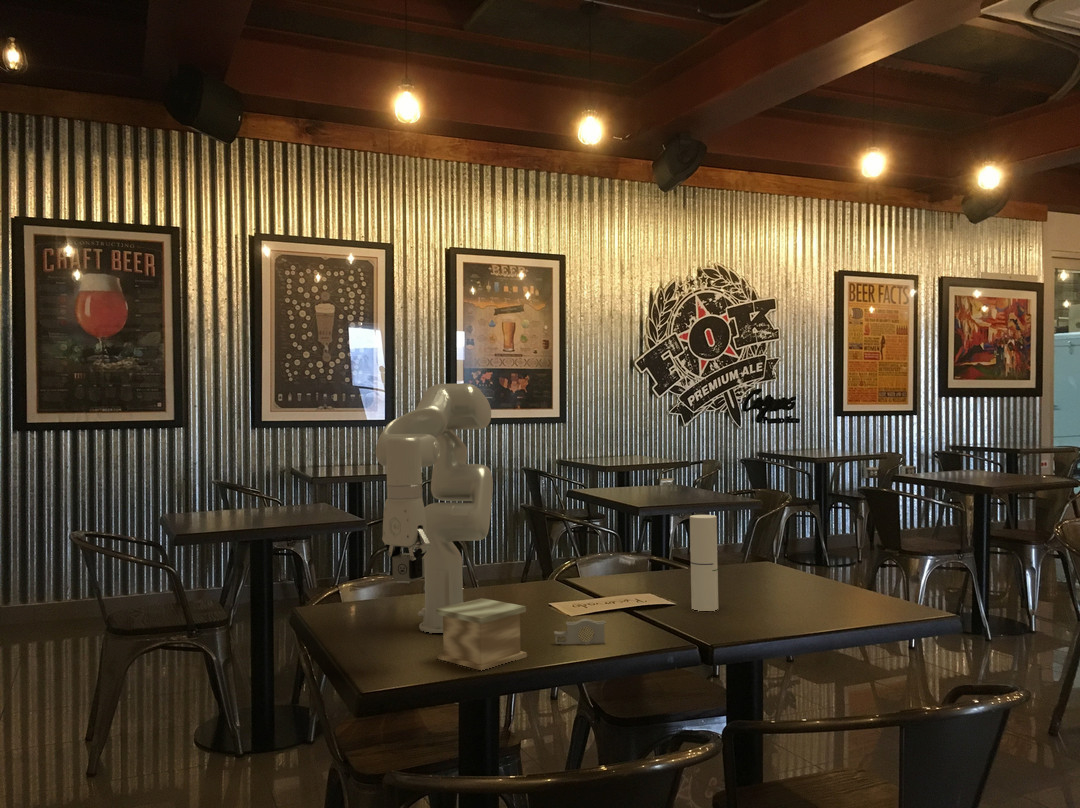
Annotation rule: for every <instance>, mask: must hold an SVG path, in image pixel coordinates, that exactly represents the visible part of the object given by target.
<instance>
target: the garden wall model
mask: <svg viewBox="0 0 1080 808" xmlns="http://www.w3.org/2000/svg"><path fill="white" fill-rule="evenodd" d="M606 623H607V622H606V620H600V621H597V620H596V621H595V620H593V619H590V618H587V617H585V618H581V619H580V620H577V621H565V625H566V626H567V627H566V630H564V631H556V630H554V631H553V634H554V635H555V637H554V638H555V640H554V641H555V643H554V644H555V645H556V644H561V645H584V644H585V645H594V644H597V645H598V644H605V640H606V639H605V625H606Z"/></svg>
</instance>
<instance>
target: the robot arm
mask: <svg viewBox="0 0 1080 808" xmlns="http://www.w3.org/2000/svg"><path fill="white" fill-rule="evenodd" d="M491 419H492V408H491V405H490V402H489V400H488V399H487V397H486V396H485V395H484V393H483V392H482V390H480V389H479V387H477V386H476V385H474V384H472V383H466V382H465V383H461V382H460V383H436V384H434V385H431V386H429V387H428V388H427V389H426V390H425V392H424V394H423V395H422V397H421V399H420V400H419V402H418V405H417V406H416V408H415V409H414V410H412V411H409V412H407V413H405V414H403V415H401V416H399V417H397V418H395V419H393V420H391V421H390V422H388V423H387V424H386V426H384V428H383V430H382V432H381V433H380V436H379V437H378V440H377V443H376V445H375V457H376V460H377V462H378V463H379V464H380V466H382V467H386V491H387V494H386V496H387V499H385V502H384V508H383V516H382V517H383V518H382V537H381V540H382V542H383V543H384V545H385V548H386V550H387V551H388V553H387V555H388V557H389V567H390V568H389V569H390V571H389V572H390V573H389V574H390V575H391V576H393V567H392V557H394V556H397V555H400V554H403V553H402V552H403V548H407V549H408V552H409V553H410V557H411V560H409V578H410V579H415V578H420V577H422V575H423V574H422V559H423V558H424V573H425V577H424V607H422V609H421V610H418V611H417V615H418V616H419V617H422V618H423V619H422V620H423V621H422V622H421V623H419V626H418V627H419V628H418V629H419V630H420V631H421V632H423V631H424V632H423V633H426V632H429V633H428V634H432V633H443V616H441V615H437V614H436V609H439V608H443V607H447V606H451V605H455V604H460V603H464V590H463V589H464V587H463V585H464V584H463V582H464V581H463V580H464V579H463V578H464V577H463V576H464V574H463V557H462V554H461V552H460V550H459V549H458V548H457V546H456V545H455V544H454V542H457V541H459V542H460V541H463V542H464V541H466V542H468V541H469V542H470V541H471V542H472V541H473V542H474V541H477V542H478V541H482V540H484V539H485V538H486V537H487V536H488V533H489V531H490V530H489V529H490V522H491V513H492V502H493V501H492V500H493V492H494V489H493V487H494V482H493V481H494V480H493V474H492V472H491V469H490V468H489V467H488V466H487V465H484V464H480V463H479V464H478V463H467V461H468V448H467V446H466V444H465V443H464V441H463V440H462V439H461V438H460V437H459V436H458V435H457V434H456V432H454V431H455V430H456V431H458V430H462V431H463V430H482V429H483V430H484V429H486V428H487V427H488V426H489V424H490V423H491V421H492V420H491ZM428 467H432V474H431V481H430V482H431V483H430V491H431V494H432V497H433V498H435V499H436V500H438V501H443V502H433V503H430V504H427V505H426V506H425V504H424V499H423V475H422V474H423V473H422V471H423V470H422V468H428ZM415 549H416V550H415Z"/></svg>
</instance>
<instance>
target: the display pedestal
mask: <svg viewBox="0 0 1080 808" xmlns="http://www.w3.org/2000/svg"><path fill="white" fill-rule="evenodd" d="M526 612H527V606H526V605H520V604H515V603H510V602H505V601H499V600H494V599H488V598H484V597H481V598H477V599H473V600H469V601H465V602H464V601H463V603H460V604H455V605H451V606H447V607H443V608H439V609H436V614H437V615H441V616H443V634H442V637H443V639H442V640H443V642H442V643H443V648H442V649H443V653H440V654H437V656H436V658H438V659H441V660H446V661H449V662H453V663H456V664H459V665H463V666H467V667H471V668H474V669H478V670H481V671H482V670H485V669H488V670H490V669H489V668H491V669H493V668H492V667H494V668H496V667H495V666H497V667H499V666H498V665H500V666H502V665H501V664H503V665H506V664H505V663H507V664H509V663H508V662H510V663H512V662H511V661H513V662H516V661H518V660H521V659H525V658H528V653H527V652H526V651H522V650H521V614H524V613H526ZM515 660H516V661H515ZM459 665H458V666H459ZM474 669H473V670H474ZM478 670H477V671H478ZM481 671H480V672H481ZM485 671H486V670H485ZM482 672H483V671H482Z"/></svg>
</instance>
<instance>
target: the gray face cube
mask: <svg viewBox="0 0 1080 808" xmlns="http://www.w3.org/2000/svg"><path fill="white" fill-rule="evenodd" d="M409 560H411V557H410V553H407V552H404V553H401V554H400V555H397V556H394V557H392V567H393V575H392V581H400V582H415V581H418V580H421V579H423V578H425V568H424V567H425V566H424V558H423V559H422V574H423V575H422V577H420V578H415V579H410V578H409Z"/></svg>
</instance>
